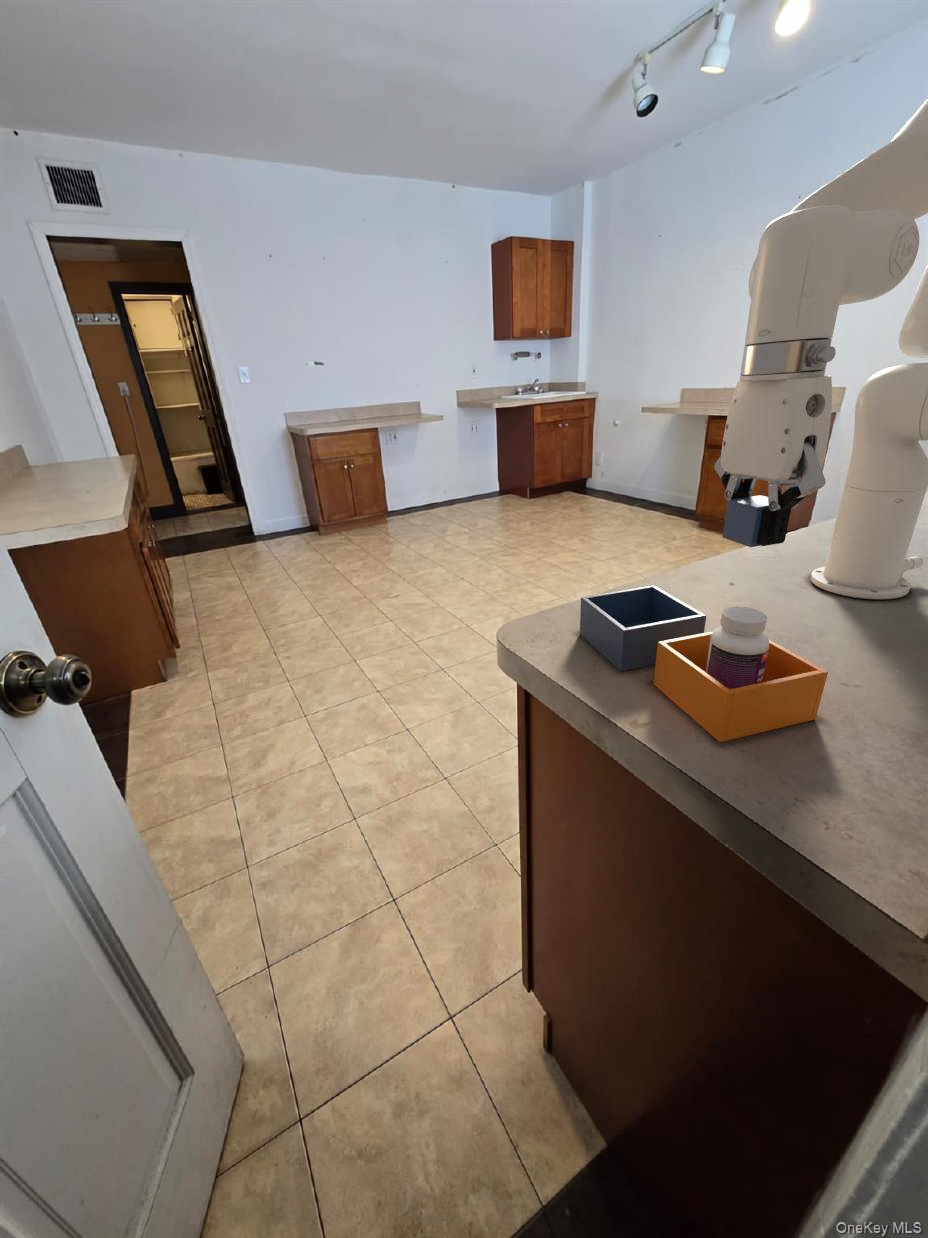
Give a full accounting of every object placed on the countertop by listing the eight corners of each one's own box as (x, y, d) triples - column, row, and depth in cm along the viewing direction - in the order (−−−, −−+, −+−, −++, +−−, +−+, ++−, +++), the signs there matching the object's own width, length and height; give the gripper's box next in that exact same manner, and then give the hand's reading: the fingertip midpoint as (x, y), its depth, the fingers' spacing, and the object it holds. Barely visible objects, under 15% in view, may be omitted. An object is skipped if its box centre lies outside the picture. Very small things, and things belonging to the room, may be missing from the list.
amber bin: (736, 667, 62) (743, 625, 59) (815, 719, 52) (828, 671, 49) (653, 684, 59) (657, 641, 57) (719, 742, 49) (728, 693, 47)
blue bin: (650, 620, 75) (653, 585, 72) (700, 655, 65) (706, 615, 62) (579, 633, 72) (580, 597, 70) (620, 671, 62) (623, 630, 60)
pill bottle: (765, 711, 52) (783, 626, 48) (708, 708, 54) (721, 624, 49) (749, 683, 57) (765, 603, 53) (697, 681, 58) (709, 602, 54)
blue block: (754, 532, 62) (760, 495, 60) (784, 541, 58) (792, 502, 56) (722, 537, 61) (727, 499, 59) (750, 547, 57) (757, 507, 55)
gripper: (896, 355, 45) (845, 553, 53) (751, 365, 60) (728, 518, 68) (826, 360, 44) (785, 564, 51) (695, 369, 59) (678, 525, 66)
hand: (752, 536), depth 59 cm, fingers closed on blue block, 4 cm apart
